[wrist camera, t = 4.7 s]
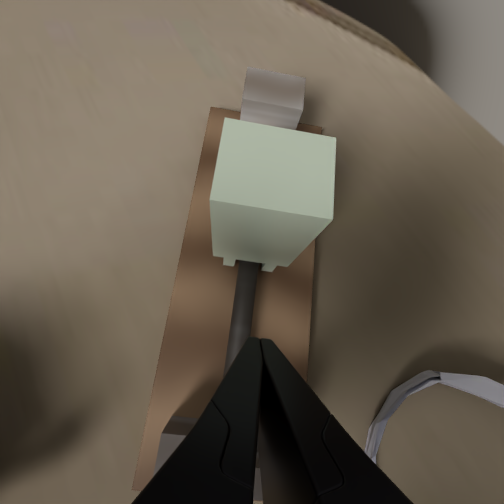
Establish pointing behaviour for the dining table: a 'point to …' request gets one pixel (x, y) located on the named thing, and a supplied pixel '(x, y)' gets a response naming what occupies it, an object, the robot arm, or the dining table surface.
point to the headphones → (467, 383)
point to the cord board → (225, 292)
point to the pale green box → (270, 192)
